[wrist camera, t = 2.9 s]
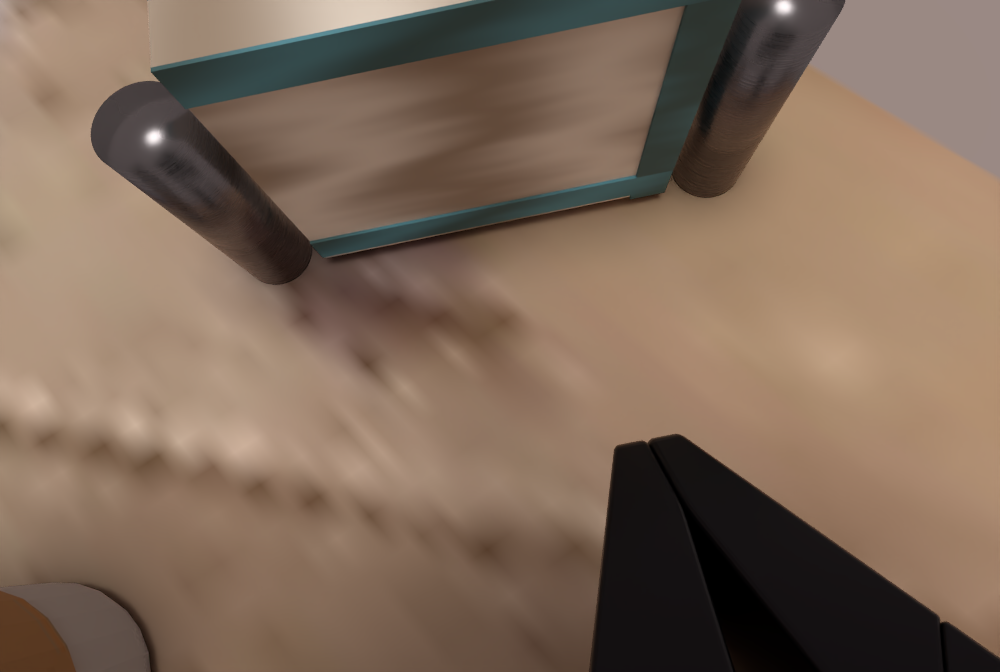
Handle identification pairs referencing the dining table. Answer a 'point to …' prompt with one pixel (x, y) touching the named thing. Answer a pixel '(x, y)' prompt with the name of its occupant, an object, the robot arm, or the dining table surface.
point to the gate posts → (286, 251)
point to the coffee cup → (67, 631)
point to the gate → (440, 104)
